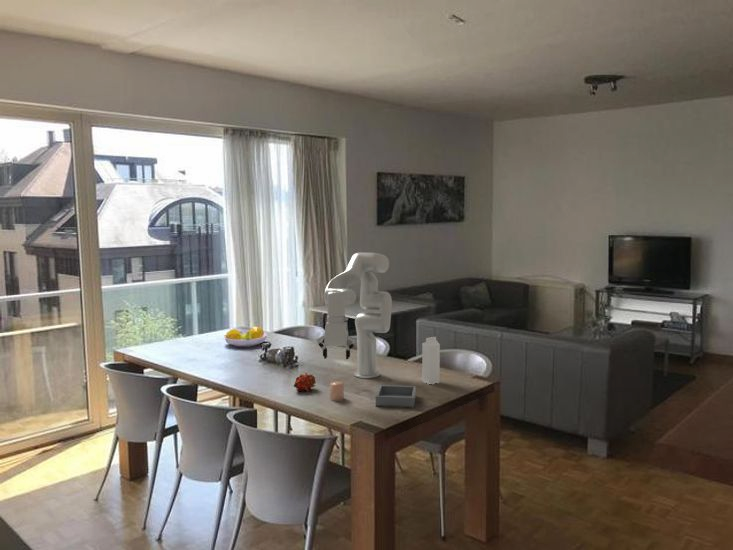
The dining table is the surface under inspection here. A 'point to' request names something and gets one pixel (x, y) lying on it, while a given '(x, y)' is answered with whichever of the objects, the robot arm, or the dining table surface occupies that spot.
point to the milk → (431, 361)
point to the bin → (396, 396)
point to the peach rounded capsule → (336, 391)
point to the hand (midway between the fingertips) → (336, 358)
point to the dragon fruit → (305, 382)
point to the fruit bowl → (245, 337)
